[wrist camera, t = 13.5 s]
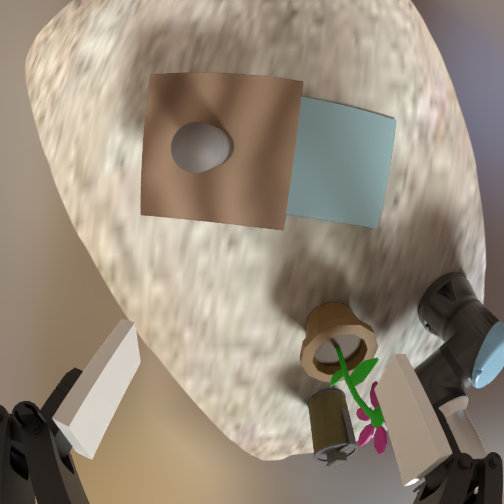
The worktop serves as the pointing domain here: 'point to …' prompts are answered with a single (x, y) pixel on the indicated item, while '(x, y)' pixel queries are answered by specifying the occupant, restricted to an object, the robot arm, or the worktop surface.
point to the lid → (219, 147)
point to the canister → (331, 427)
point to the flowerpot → (344, 360)
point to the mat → (340, 163)
